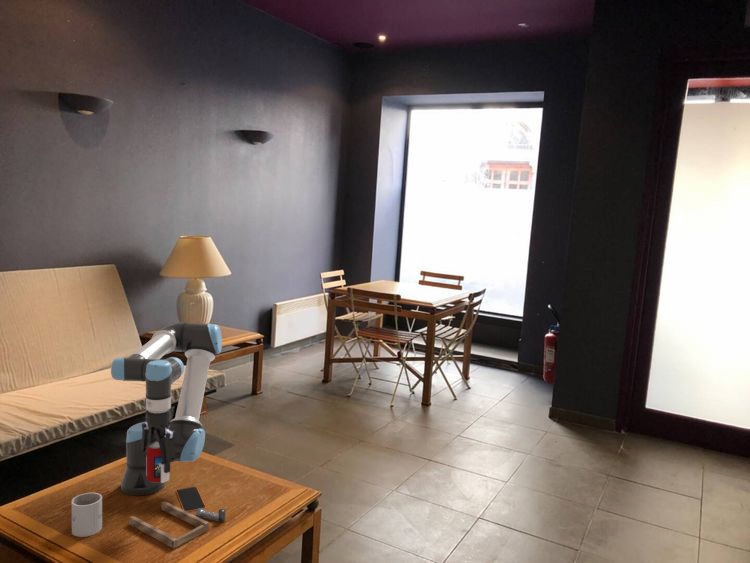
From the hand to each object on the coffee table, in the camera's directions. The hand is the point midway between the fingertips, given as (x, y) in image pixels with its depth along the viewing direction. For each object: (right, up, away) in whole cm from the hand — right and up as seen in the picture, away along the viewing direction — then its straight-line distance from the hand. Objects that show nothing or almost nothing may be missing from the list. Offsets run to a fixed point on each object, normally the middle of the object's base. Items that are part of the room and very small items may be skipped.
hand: (157, 477), depth 189 cm
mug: (-21, -14, -3) cm, 25 cm away
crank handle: (+16, -15, +5) cm, 22 cm away
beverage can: (0, -1, 0) cm, 1 cm away
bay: (+4, -15, -2) cm, 16 cm away
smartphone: (+5, -14, +17) cm, 22 cm away
